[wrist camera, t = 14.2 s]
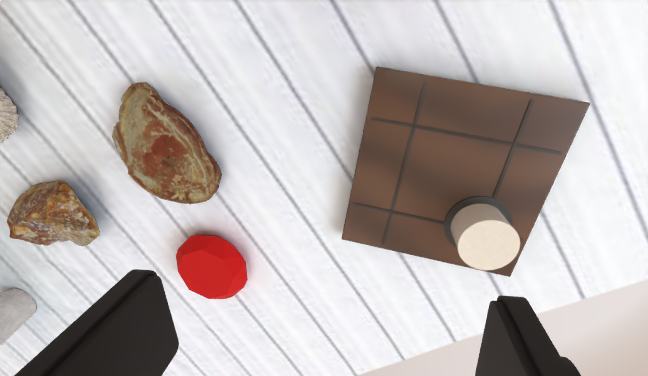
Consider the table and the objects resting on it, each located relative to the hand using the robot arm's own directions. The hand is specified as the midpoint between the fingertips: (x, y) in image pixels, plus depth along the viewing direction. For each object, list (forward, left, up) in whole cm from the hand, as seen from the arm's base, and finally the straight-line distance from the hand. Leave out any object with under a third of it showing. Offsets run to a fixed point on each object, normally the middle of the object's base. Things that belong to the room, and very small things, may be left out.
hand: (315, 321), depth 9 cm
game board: (+3, +9, -26) cm, 27 cm away
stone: (+6, -21, -26) cm, 34 cm away
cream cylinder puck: (+7, +13, -24) cm, 28 cm away
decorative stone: (+18, -36, -26) cm, 48 cm away
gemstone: (+20, -15, -26) cm, 36 cm away
